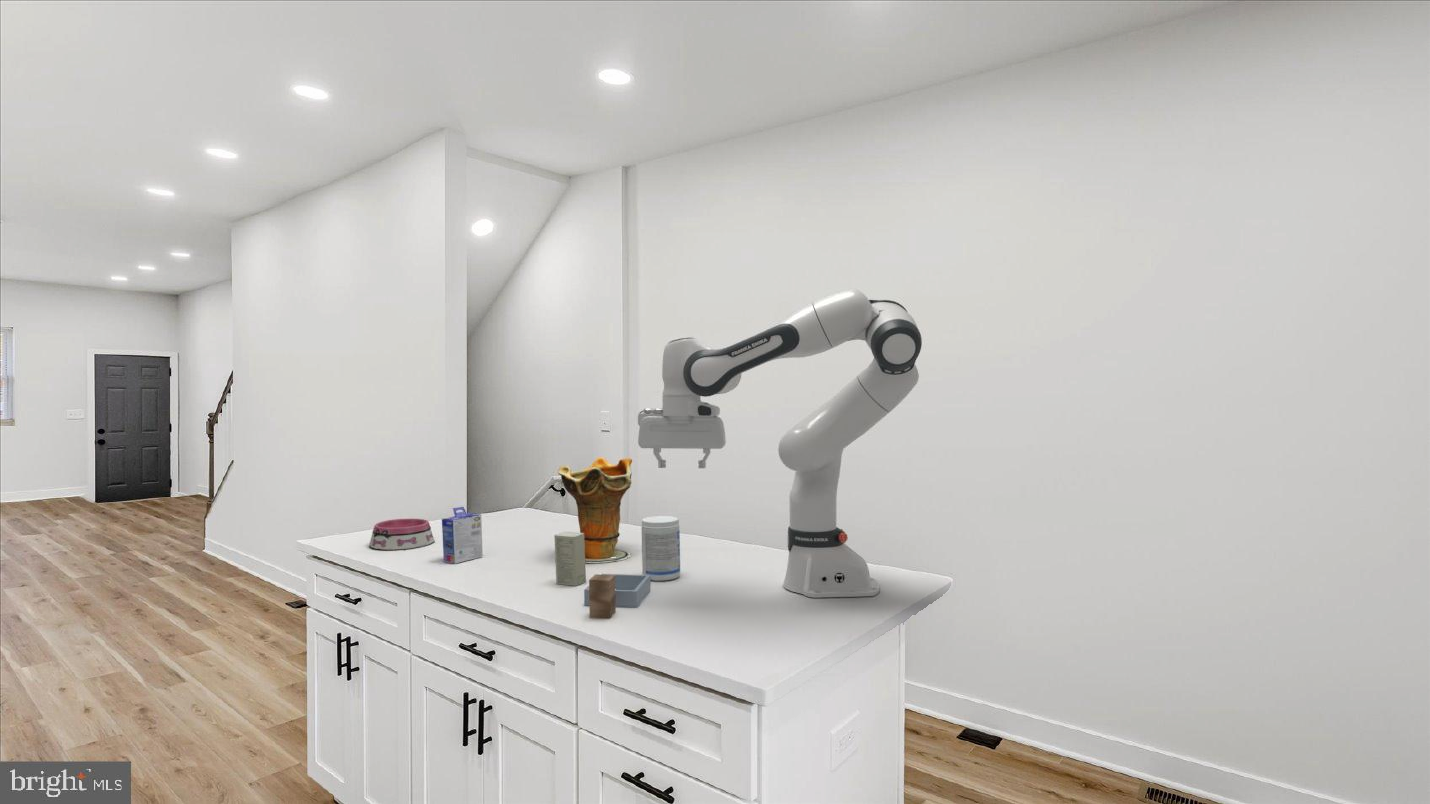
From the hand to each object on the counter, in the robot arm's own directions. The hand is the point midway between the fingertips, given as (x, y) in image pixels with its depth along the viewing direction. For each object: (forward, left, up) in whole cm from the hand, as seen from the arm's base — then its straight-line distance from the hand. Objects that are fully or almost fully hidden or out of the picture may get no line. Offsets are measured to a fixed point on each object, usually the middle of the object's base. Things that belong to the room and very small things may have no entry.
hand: (682, 467), depth 171 cm
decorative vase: (+30, -33, -29) cm, 53 cm away
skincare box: (+29, -5, -29) cm, 42 cm away
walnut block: (+14, +18, -29) cm, 37 cm away
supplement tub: (+8, -13, -29) cm, 33 cm away
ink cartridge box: (+67, -25, -29) cm, 77 cm away
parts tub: (+14, +5, -29) cm, 33 cm away
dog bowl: (+95, -42, -30) cm, 108 cm away
